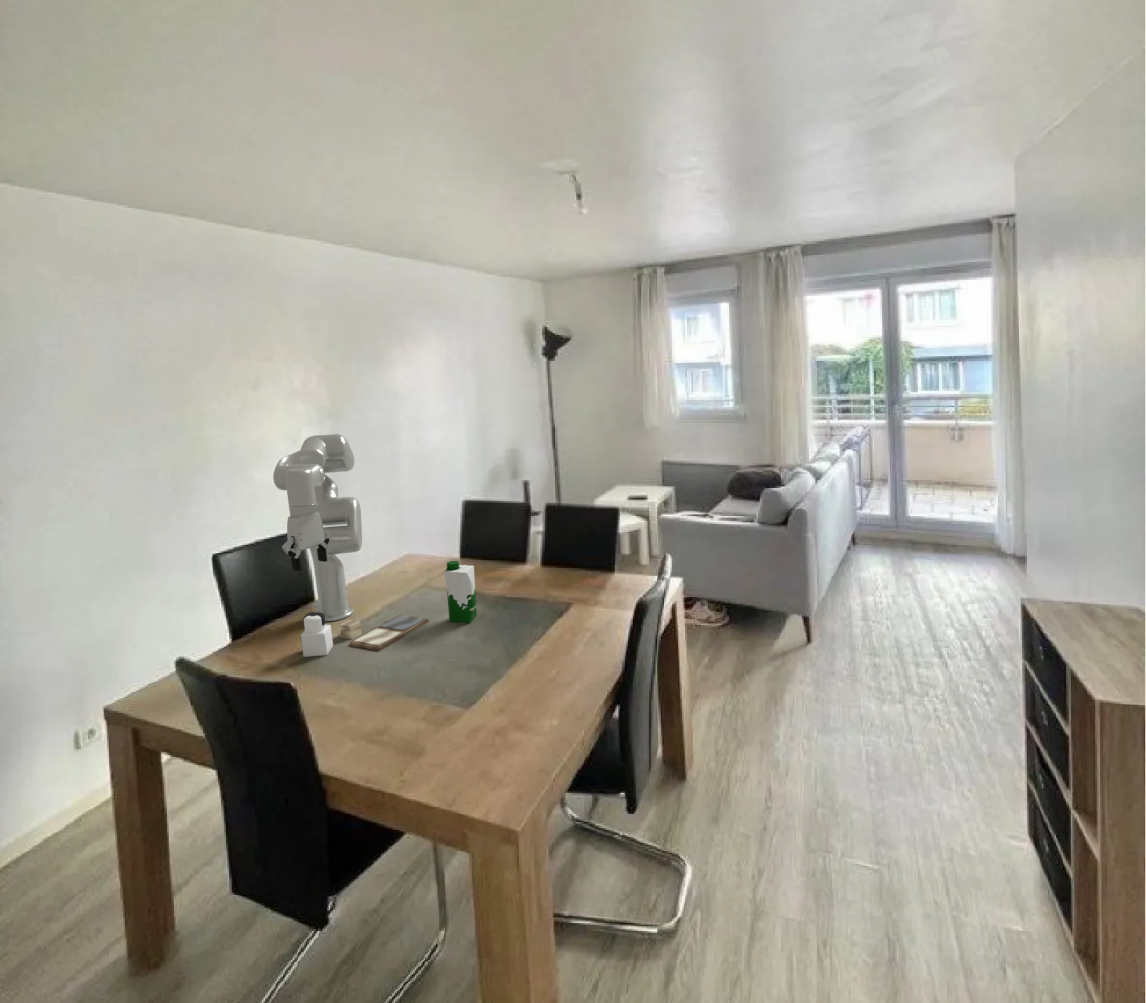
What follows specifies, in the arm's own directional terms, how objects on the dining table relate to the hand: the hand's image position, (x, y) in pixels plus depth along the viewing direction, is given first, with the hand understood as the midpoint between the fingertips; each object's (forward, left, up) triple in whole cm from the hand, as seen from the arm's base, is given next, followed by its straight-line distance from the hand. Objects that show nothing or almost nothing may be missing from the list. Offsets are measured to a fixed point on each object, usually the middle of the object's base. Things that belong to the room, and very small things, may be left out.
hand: (310, 565), depth 197 cm
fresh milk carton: (+28, +36, -27) cm, 53 cm away
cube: (+1, +12, -27) cm, 30 cm away
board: (+12, +18, -27) cm, 35 cm away
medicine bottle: (0, -1, -27) cm, 27 cm away
